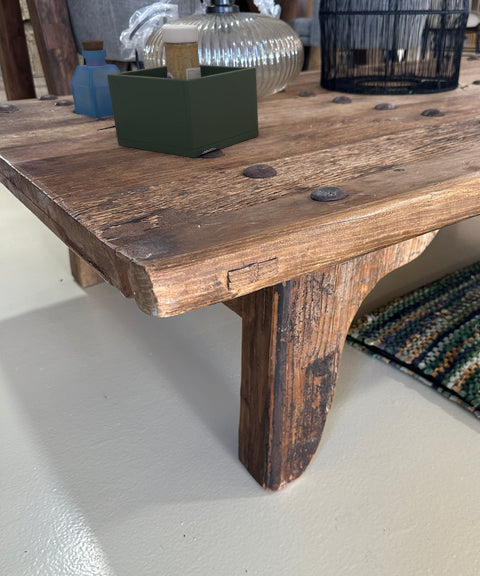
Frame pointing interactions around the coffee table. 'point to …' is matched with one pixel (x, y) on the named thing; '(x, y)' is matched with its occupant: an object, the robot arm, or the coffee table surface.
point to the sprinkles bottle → (181, 51)
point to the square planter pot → (184, 109)
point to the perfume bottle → (93, 82)
